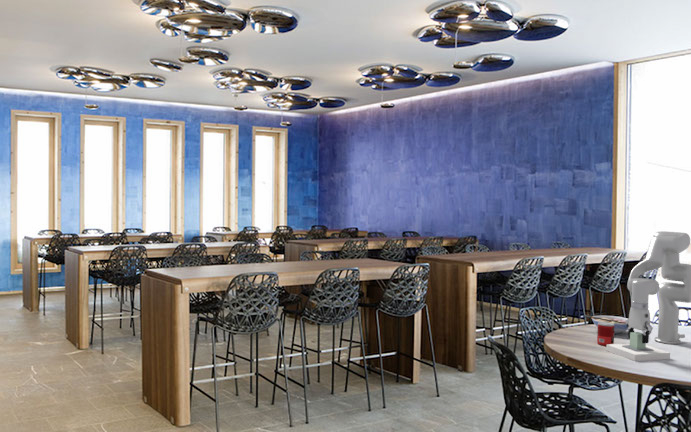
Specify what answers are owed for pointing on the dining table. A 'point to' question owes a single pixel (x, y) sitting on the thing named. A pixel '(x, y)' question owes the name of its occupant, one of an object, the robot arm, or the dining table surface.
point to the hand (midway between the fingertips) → (638, 340)
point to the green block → (637, 340)
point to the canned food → (605, 333)
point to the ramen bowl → (617, 321)
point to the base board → (637, 352)
